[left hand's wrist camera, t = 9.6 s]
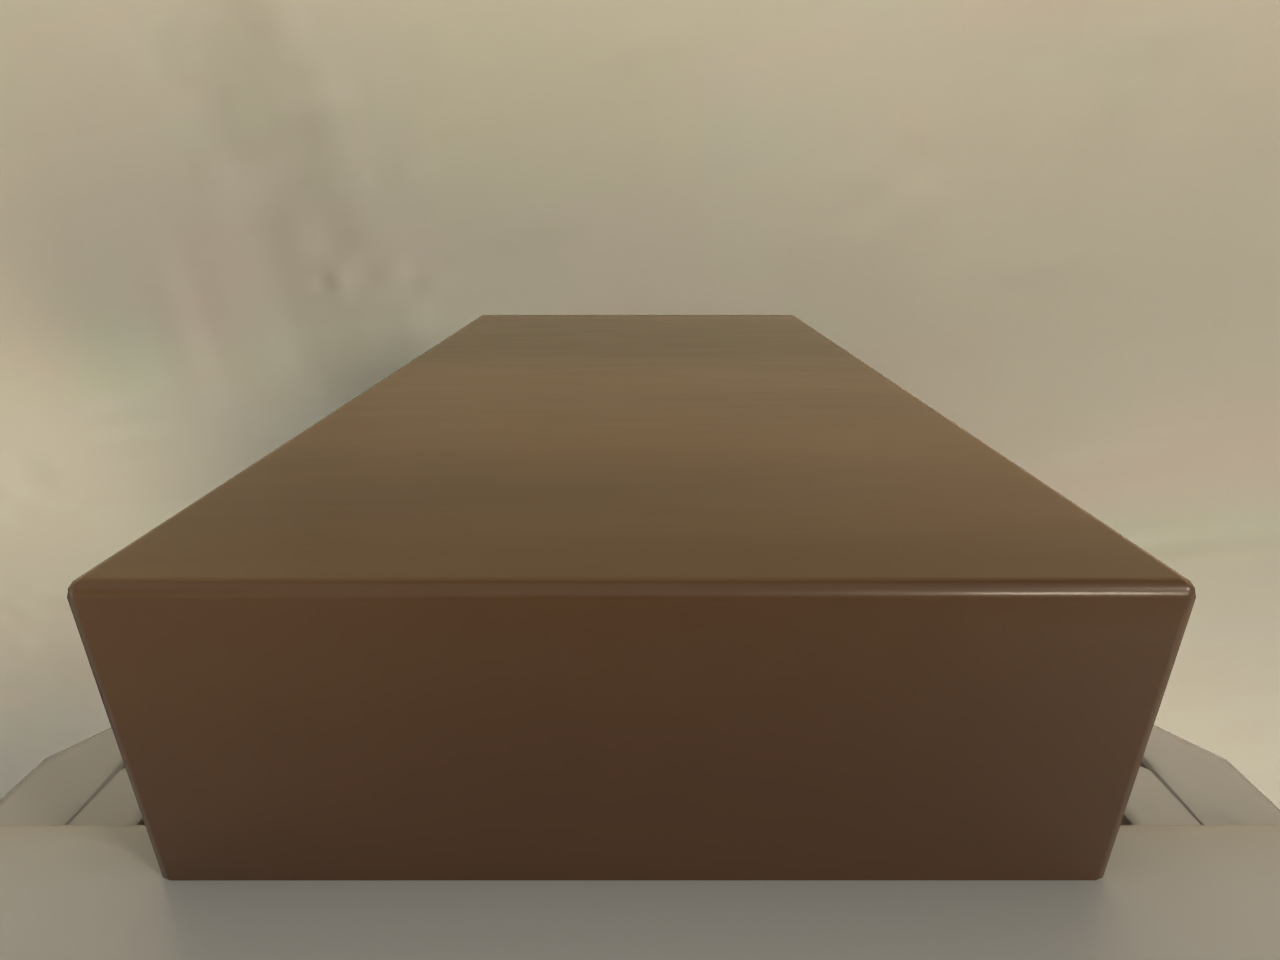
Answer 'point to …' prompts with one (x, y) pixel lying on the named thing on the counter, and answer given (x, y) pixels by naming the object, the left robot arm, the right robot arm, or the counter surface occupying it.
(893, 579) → the box
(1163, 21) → the counter surface
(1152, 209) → the counter surface
